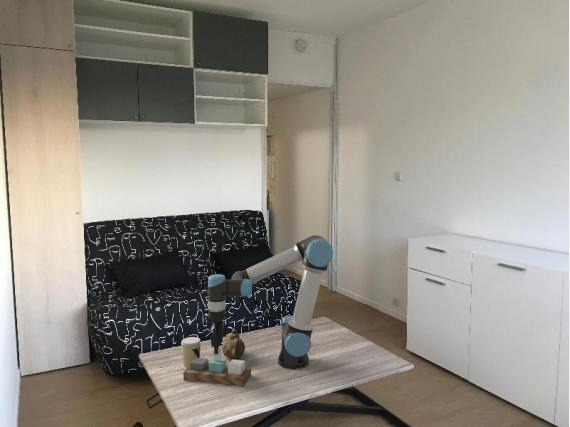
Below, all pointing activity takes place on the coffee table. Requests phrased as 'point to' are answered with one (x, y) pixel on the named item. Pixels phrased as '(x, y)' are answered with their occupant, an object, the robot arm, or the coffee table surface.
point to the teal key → (217, 365)
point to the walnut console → (217, 376)
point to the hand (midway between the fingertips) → (217, 360)
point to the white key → (236, 367)
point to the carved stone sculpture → (233, 346)
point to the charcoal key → (199, 364)
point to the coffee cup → (190, 350)
